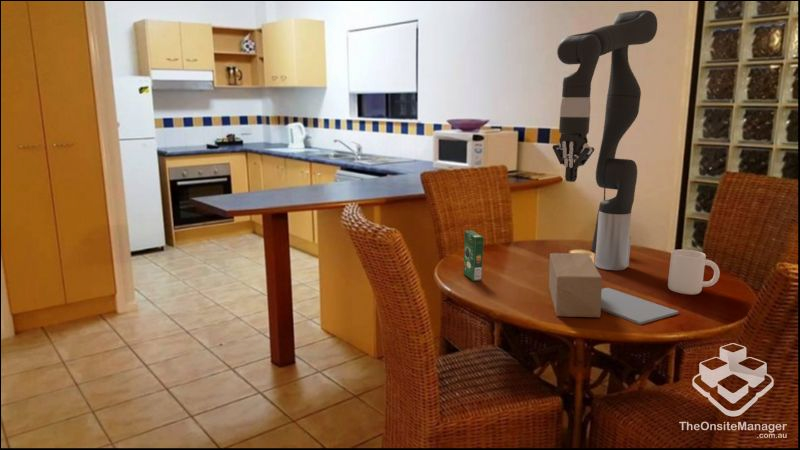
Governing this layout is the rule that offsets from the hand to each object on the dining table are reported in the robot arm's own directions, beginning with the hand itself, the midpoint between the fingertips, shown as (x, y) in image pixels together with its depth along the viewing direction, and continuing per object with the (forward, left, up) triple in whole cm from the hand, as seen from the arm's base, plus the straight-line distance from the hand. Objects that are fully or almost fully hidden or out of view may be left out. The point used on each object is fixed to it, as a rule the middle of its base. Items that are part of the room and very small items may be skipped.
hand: (570, 181), depth 153 cm
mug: (-26, +21, -29) cm, 44 cm away
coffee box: (+18, -18, -29) cm, 39 cm away
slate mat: (0, +20, -29) cm, 35 cm away
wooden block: (+4, +5, -23) cm, 24 cm away
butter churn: (-38, -20, -29) cm, 52 cm away
